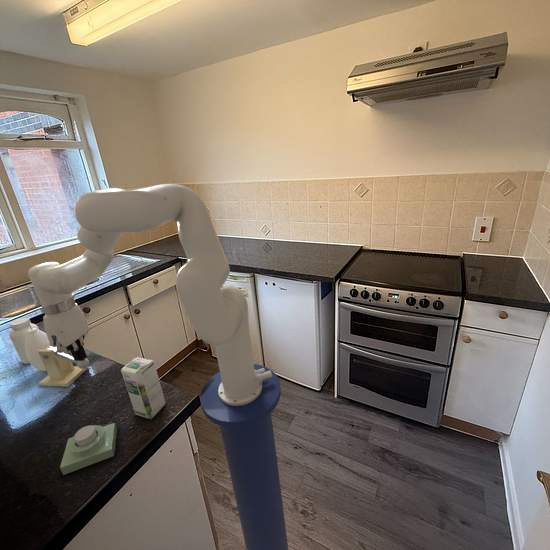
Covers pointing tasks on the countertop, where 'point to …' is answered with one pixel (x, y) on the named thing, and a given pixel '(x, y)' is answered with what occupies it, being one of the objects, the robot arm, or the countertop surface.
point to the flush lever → (70, 358)
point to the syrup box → (143, 387)
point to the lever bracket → (58, 369)
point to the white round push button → (85, 436)
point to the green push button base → (89, 449)
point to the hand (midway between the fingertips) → (80, 358)
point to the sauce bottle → (36, 347)
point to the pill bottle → (20, 336)
